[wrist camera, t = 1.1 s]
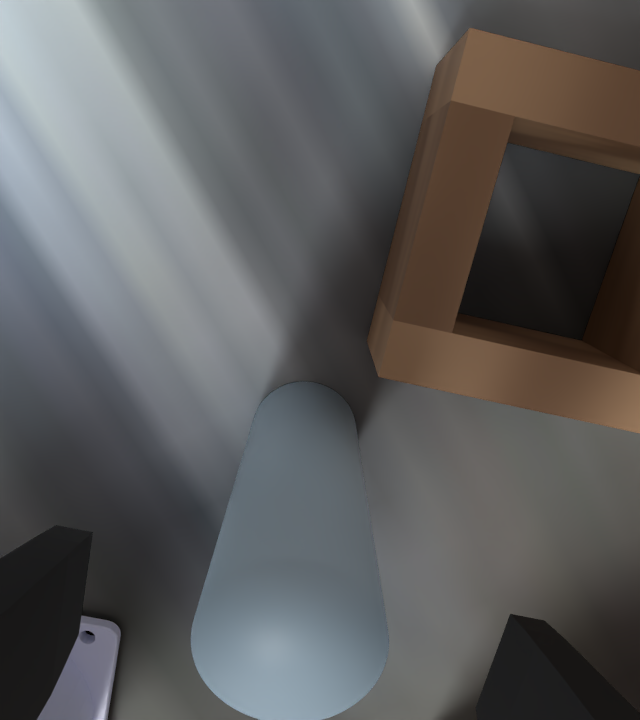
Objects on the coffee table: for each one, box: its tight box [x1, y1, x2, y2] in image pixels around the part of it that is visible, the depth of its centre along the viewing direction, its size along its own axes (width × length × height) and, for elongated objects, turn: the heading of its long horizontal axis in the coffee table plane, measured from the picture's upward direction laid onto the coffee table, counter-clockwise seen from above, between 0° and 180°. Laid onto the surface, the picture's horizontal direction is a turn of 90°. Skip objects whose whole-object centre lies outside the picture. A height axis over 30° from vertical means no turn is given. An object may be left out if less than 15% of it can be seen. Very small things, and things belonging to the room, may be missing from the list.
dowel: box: [191, 382, 389, 720], centre depth 14 cm, size 3×3×9 cm
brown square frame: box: [367, 28, 640, 433], centre depth 15 cm, size 8×8×4 cm
